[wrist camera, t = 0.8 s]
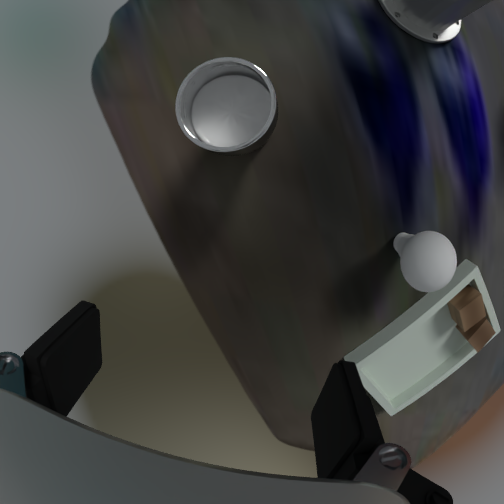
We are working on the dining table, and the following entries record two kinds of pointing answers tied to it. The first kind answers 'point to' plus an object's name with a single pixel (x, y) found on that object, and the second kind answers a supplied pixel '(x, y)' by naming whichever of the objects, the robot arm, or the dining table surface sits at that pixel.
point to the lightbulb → (426, 259)
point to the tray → (419, 345)
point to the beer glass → (227, 106)
